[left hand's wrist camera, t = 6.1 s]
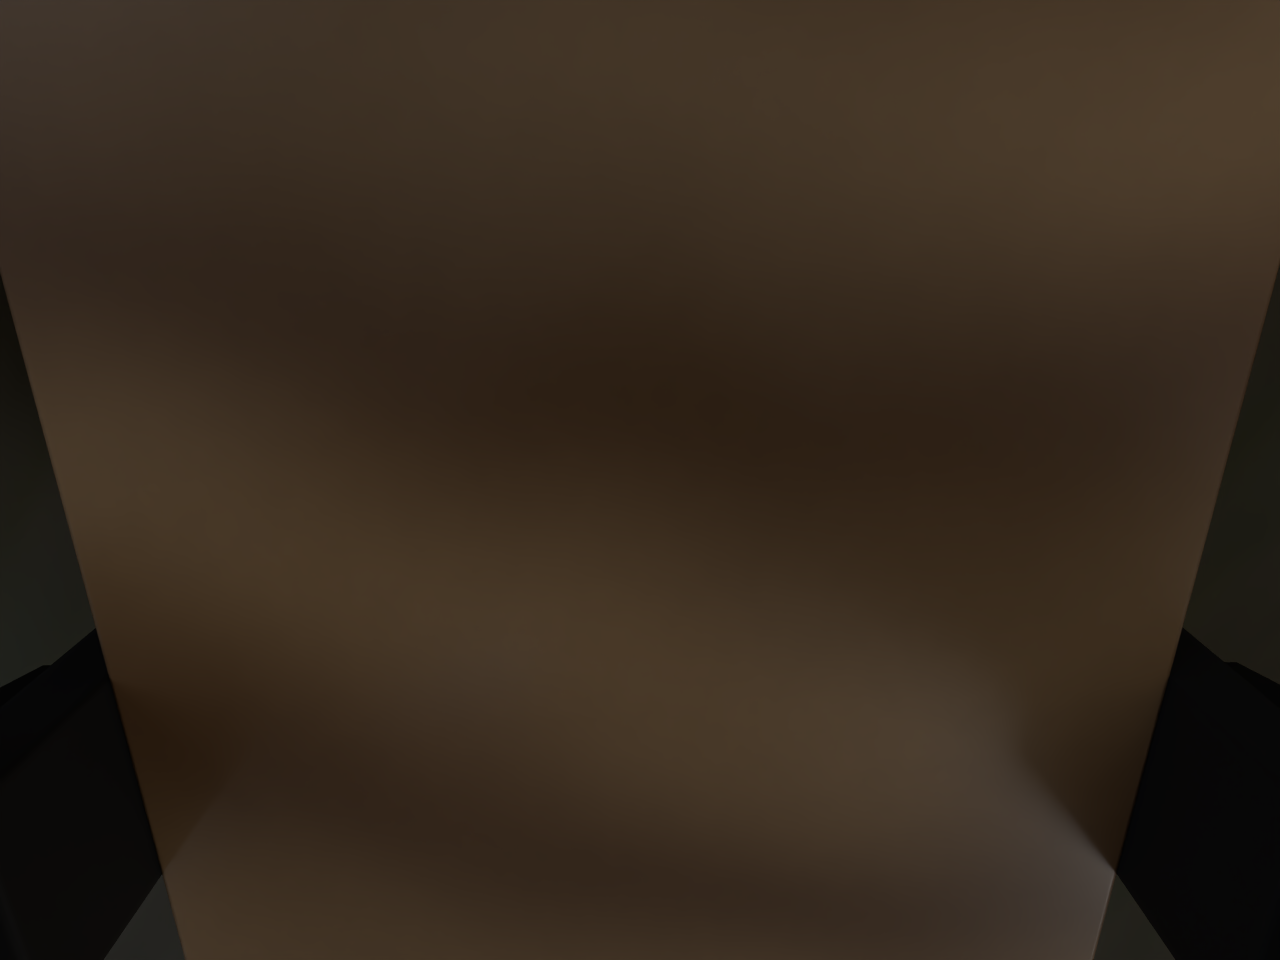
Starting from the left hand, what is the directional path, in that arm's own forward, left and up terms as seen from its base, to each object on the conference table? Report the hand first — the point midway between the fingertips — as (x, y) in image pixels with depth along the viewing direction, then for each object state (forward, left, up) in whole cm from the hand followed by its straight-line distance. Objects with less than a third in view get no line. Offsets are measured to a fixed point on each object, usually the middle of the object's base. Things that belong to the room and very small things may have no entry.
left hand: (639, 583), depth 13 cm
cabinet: (+2, +5, -4) cm, 7 cm away
